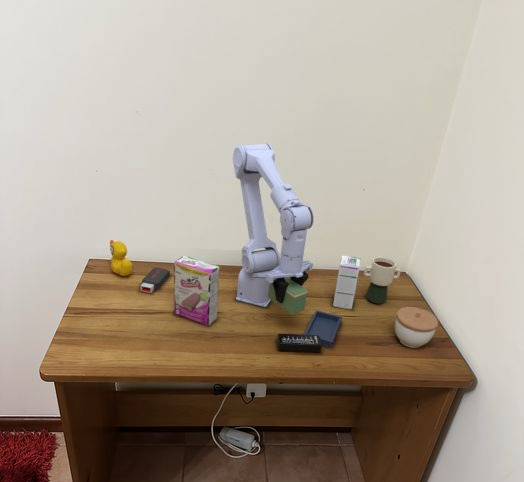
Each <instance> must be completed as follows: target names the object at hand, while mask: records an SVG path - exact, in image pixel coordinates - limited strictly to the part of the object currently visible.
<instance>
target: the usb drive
mask: <svg viewBox="0 0 524 482" xmlns="http://www.w3.org/2000/svg"><path fill="white" fill-rule="evenodd" d="M170 276H171V271H170V270H169V269H167V268H162V267H157V266H155V267H153V268H152V269H151V270H150V271H149V272H148V273H147V274H146V275H145V276H144V277H143V278H142V279H141V285H139V286H140V292H144V293H149V294H152V293H153V292H155V291H158V290H160V288H161V287H162V286H163V285H164V284H165V283H166V281H168V279H169V278H170Z"/></svg>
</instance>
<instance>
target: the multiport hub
mask: <svg viewBox="0 0 524 482" xmlns="http://www.w3.org/2000/svg"><path fill="white" fill-rule="evenodd" d="M276 343H277V350H278V351H280V352H302V353H321V351H322V347H323V345H322V343H321V339H320V336H319V335H304V334H302V333H301V334H299V333H297V334H296V333H277V339H276Z"/></svg>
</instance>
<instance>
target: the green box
mask: <svg viewBox="0 0 524 482" xmlns="http://www.w3.org/2000/svg"><path fill="white" fill-rule="evenodd" d="M284 279H285V281H286V282H288V283H289V285H288V287H287V289H286V292H285V297H284V301H283V303H280V302H278V301H277V300H276V295H275V290H274V287H273V284H272V283H269V291H268V298H270V299H271V301H273V302H274V303H276V304H277V305H278V306H280V307H281V308H282V309H283V310H286V311H287V312H288V313H289V314H291V315H294V314H297V313H299V312H302V311H305V309H306V302H307V295H308V289H307V288H305V287H303V285H302V286H300V285H299V284H297V283H296V282H294V281H292V280H291V279H290V277H284Z"/></svg>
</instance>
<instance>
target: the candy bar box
mask: <svg viewBox="0 0 524 482" xmlns="http://www.w3.org/2000/svg"><path fill="white" fill-rule="evenodd" d="M219 284H220V266H218V265H215V264H212V263H208V262H206V261H203V260H199V259H196V258H194V257H190V256H187V255H182V256H180V257H179V258H178V259H176V260H175V261H174V262H173V285H174V286H173V294H174V297H173V298H174V299H173V303H174V305H173V306H174V307H173V309H174V312H173V313H174V315H176V316H178V317H181V318H183V319H184V318H185V319H187V320H191V321H193V322H196V323H198V324H202V325H204V326H207V327H210V325H212V324H213V323H214V322H215V321H216V320H217V319H218V308H219V307H218V306H219V288H220V287H219V286H220V285H219Z"/></svg>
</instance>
